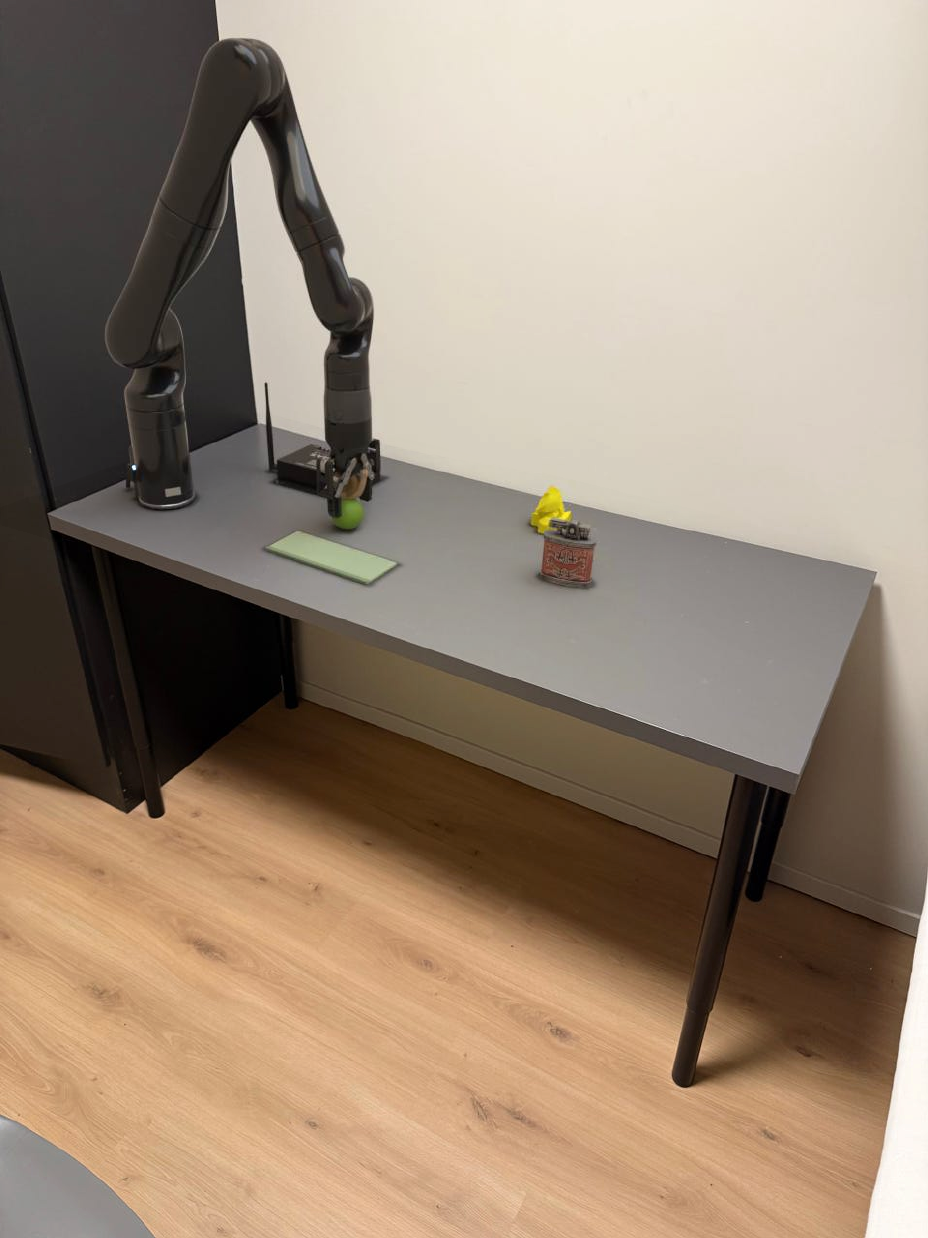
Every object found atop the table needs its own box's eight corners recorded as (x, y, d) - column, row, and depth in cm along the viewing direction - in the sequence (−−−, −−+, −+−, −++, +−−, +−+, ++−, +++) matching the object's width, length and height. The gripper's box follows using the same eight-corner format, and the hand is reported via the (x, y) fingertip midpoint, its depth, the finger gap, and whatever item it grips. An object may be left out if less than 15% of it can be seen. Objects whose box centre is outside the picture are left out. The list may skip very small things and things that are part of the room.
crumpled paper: (574, 519, 162) (578, 478, 158) (558, 537, 156) (562, 494, 152) (543, 512, 164) (546, 471, 160) (526, 529, 158) (529, 487, 154)
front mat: (265, 550, 147) (265, 547, 147) (297, 532, 153) (297, 529, 153) (366, 584, 138) (366, 581, 138) (397, 565, 144) (397, 562, 144)
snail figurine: (364, 537, 152) (363, 469, 146) (327, 532, 153) (324, 464, 147) (373, 524, 157) (372, 457, 151) (337, 519, 158) (335, 453, 152)
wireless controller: (385, 477, 175) (385, 388, 166) (342, 502, 164) (339, 408, 156) (300, 455, 183) (296, 369, 174) (254, 477, 172) (247, 387, 164)
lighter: (593, 580, 143) (600, 521, 138) (588, 589, 140) (595, 530, 135) (542, 570, 145) (548, 512, 140) (537, 579, 142) (542, 520, 137)
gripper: (356, 397, 152) (358, 489, 160) (300, 420, 141) (305, 517, 150) (393, 406, 149) (393, 499, 157) (339, 430, 138) (342, 528, 146)
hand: (350, 508), depth 153 cm, fingers open, 8 cm apart
